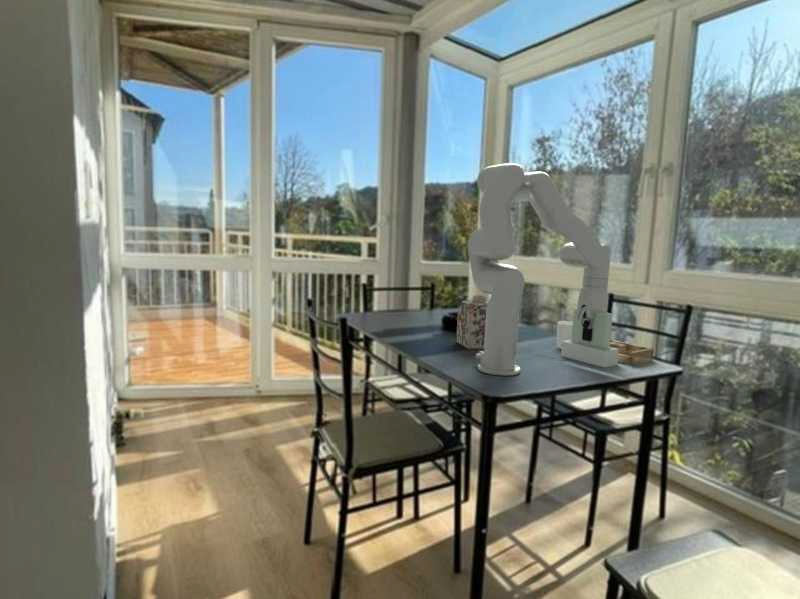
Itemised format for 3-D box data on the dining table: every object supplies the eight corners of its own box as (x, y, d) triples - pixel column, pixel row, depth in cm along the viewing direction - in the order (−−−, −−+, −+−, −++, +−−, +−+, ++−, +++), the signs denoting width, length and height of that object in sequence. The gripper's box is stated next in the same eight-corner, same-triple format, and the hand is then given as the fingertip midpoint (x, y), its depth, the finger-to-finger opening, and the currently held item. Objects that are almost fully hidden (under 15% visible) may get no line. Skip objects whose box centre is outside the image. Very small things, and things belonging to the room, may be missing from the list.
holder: (560, 358, 177) (562, 341, 176) (573, 356, 181) (575, 339, 180) (604, 370, 164) (605, 351, 163) (617, 367, 168) (618, 348, 167)
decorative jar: (485, 341, 200) (488, 293, 197) (498, 348, 188) (501, 298, 186) (455, 342, 196) (457, 293, 194) (466, 349, 185) (469, 298, 183)
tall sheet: (570, 353, 176) (573, 308, 174) (575, 352, 178) (579, 308, 176) (602, 361, 167) (606, 314, 164) (608, 360, 168) (612, 313, 166)
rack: (582, 355, 182) (583, 341, 182) (603, 352, 189) (604, 338, 189) (632, 368, 168) (633, 352, 167) (652, 363, 175) (653, 348, 174)
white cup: (583, 352, 187) (585, 324, 186) (563, 353, 185) (566, 325, 183) (569, 347, 195) (571, 320, 193) (550, 348, 192) (552, 321, 191)
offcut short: (606, 348, 179) (607, 342, 179) (612, 347, 181) (612, 341, 180) (620, 351, 175) (621, 345, 175) (625, 350, 177) (626, 344, 176)
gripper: (599, 281, 177) (595, 335, 179) (569, 282, 167) (564, 340, 170) (620, 283, 171) (615, 339, 173) (590, 285, 161) (584, 345, 164)
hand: (590, 339), depth 171 cm, fingers closed on tall sheet, 3 cm apart
